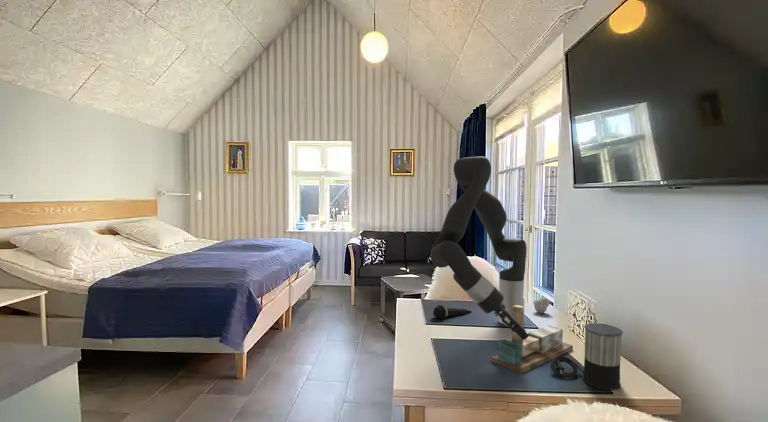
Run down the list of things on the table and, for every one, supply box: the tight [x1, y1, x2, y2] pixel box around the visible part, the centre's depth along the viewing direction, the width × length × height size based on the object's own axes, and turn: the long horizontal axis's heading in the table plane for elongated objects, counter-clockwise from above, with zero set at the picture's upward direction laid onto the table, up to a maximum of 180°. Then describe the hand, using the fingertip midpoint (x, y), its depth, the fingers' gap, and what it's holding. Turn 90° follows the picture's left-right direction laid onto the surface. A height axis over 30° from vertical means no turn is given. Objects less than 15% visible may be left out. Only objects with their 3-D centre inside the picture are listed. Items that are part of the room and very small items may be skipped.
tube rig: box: [491, 325, 574, 374], centre depth 129 cm, size 29×10×7 cm, turn 128°
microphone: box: [432, 304, 473, 320], centre depth 170 cm, size 6×6×20 cm
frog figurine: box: [532, 296, 551, 314], centre depth 175 cm, size 6×7×7 cm
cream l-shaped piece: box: [511, 305, 541, 357], centre depth 126 cm, size 18×3×15 cm, turn 128°
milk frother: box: [550, 322, 624, 391], centre depth 113 cm, size 14×16×15 cm
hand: (524, 335), depth 123 cm, fingers closed on cream l-shaped piece, 3 cm apart
